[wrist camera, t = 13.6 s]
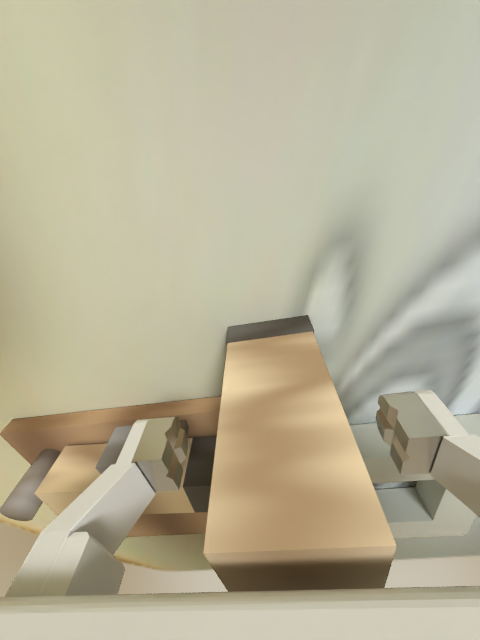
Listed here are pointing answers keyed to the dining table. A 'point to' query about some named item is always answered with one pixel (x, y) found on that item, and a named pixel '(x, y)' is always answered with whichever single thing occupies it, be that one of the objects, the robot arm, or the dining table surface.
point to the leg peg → (289, 473)
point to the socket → (414, 489)
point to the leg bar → (193, 496)
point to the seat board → (98, 428)
